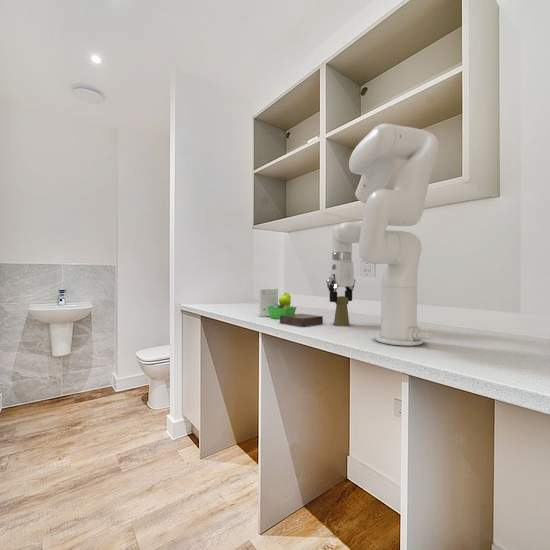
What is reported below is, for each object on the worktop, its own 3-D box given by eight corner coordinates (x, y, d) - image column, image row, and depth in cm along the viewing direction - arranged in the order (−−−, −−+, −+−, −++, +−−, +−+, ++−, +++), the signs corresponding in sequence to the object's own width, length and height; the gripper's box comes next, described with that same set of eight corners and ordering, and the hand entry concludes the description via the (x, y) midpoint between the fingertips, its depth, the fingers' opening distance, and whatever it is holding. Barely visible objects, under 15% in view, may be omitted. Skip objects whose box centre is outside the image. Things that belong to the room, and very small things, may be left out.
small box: (275, 314, 151) (276, 288, 151) (277, 316, 145) (278, 288, 145) (259, 315, 150) (259, 287, 150) (260, 316, 143) (260, 288, 144)
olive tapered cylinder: (345, 326, 117) (345, 297, 117) (330, 324, 120) (331, 296, 120) (352, 324, 121) (352, 296, 122) (337, 323, 125) (338, 295, 125)
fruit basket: (266, 318, 139) (266, 292, 139) (279, 316, 145) (279, 292, 146) (286, 320, 131) (286, 293, 131) (299, 318, 138) (299, 293, 138)
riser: (322, 323, 123) (322, 316, 123) (301, 326, 115) (301, 318, 115) (300, 320, 132) (300, 313, 132) (279, 323, 124) (279, 315, 124)
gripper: (336, 256, 113) (335, 303, 113) (362, 258, 124) (361, 301, 124) (320, 256, 118) (319, 301, 118) (346, 258, 130) (346, 299, 130)
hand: (341, 301), depth 121 cm, fingers open, 9 cm apart
